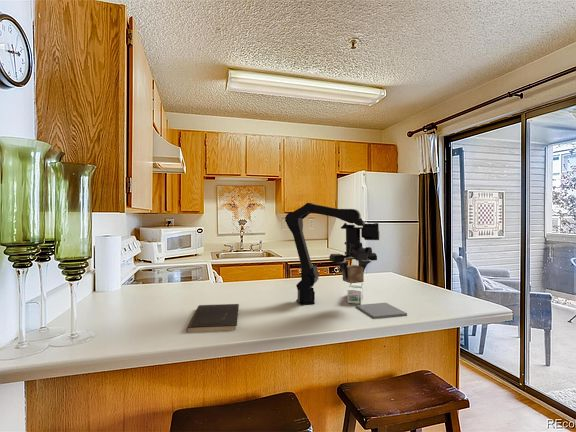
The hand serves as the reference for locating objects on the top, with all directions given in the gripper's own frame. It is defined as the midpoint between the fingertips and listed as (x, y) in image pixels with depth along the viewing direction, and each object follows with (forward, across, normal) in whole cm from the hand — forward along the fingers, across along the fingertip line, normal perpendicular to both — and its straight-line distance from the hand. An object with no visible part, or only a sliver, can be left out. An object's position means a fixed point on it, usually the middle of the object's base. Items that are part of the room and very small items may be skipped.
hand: (353, 278), depth 124 cm
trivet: (+12, +8, -6) cm, 16 cm away
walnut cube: (+1, 0, 0) cm, 1 cm away
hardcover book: (+12, -55, +1) cm, 56 cm away
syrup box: (+9, +10, +17) cm, 22 cm away
